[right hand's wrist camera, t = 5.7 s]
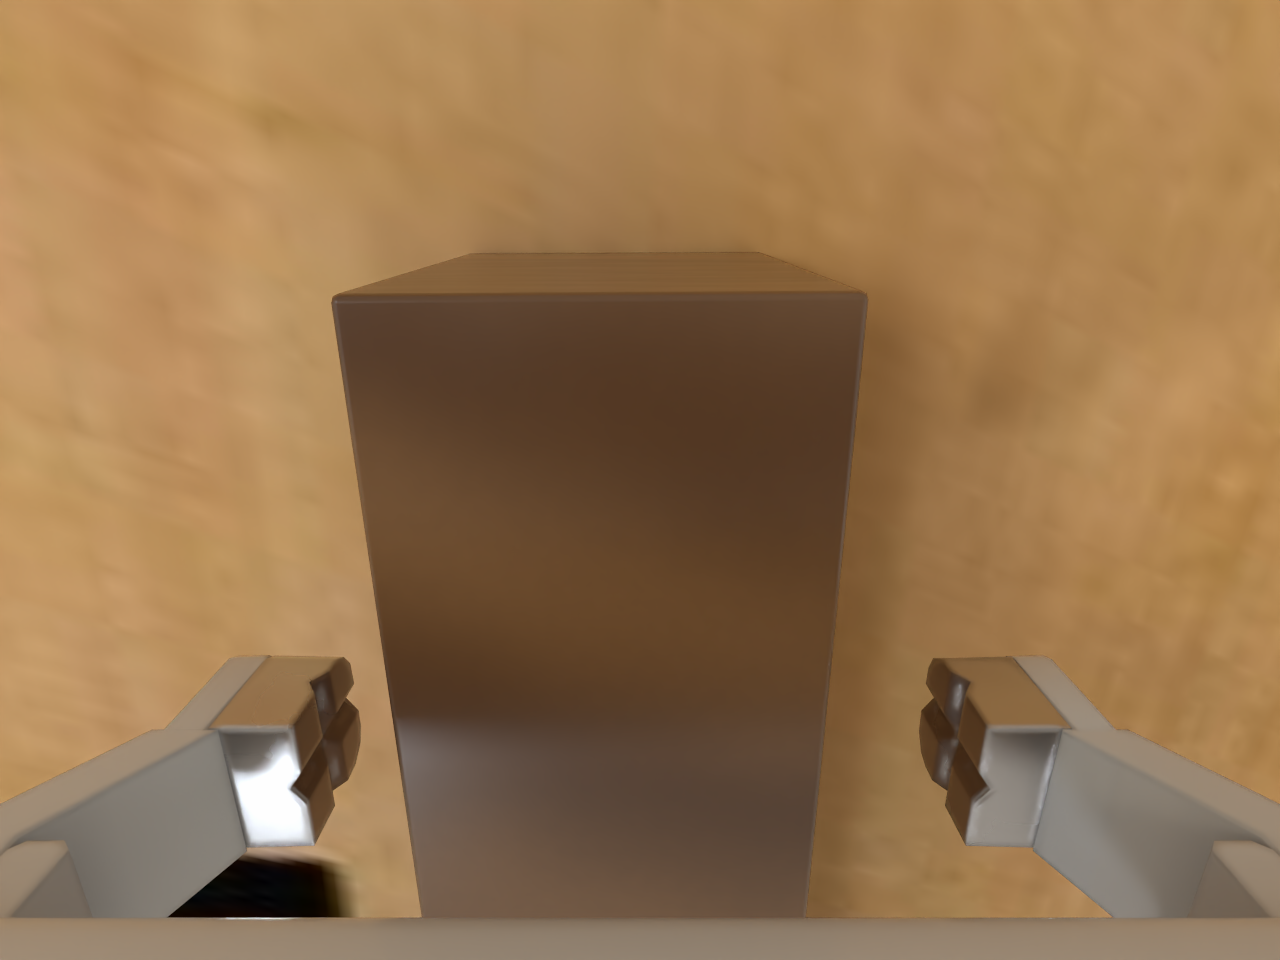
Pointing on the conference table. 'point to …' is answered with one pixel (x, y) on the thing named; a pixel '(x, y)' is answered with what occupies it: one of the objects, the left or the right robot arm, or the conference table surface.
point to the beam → (606, 571)
